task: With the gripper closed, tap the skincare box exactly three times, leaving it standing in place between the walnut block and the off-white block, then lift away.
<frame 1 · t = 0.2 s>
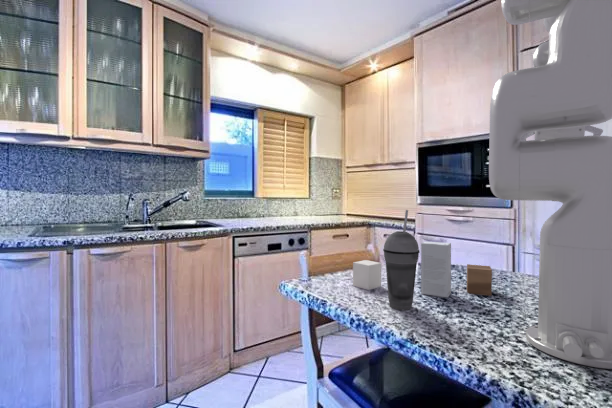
hand: (557, 165, 85), 31 cm above the countertop, fingers open, 9 cm apart
walnut block: (478, 291, 79), on the countertop
beverage cup: (400, 307, 68), on the countertop
skincare box: (435, 294, 77), on the countertop
off-white block: (366, 286, 83), on the countertop
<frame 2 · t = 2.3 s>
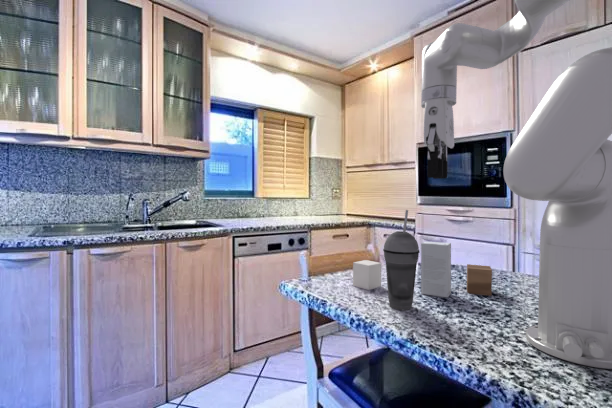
hand: (437, 177, 76), 27 cm above the countertop, fingers open, 4 cm apart
nothing on the countertop moved.
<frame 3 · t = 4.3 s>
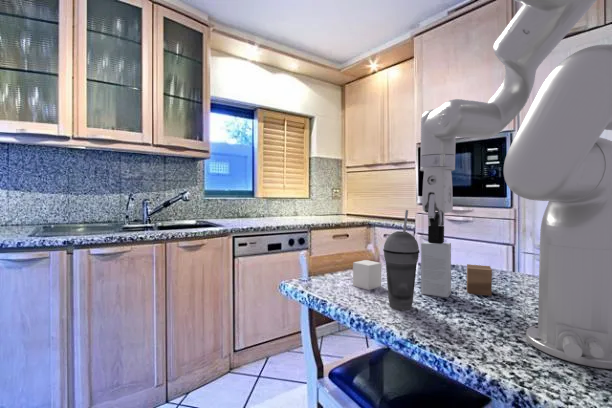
hand: (435, 242, 77), 12 cm above the countertop, fingers closed
skincare box: (435, 294, 77), on the countertop, touching gripper
everything else where it was.
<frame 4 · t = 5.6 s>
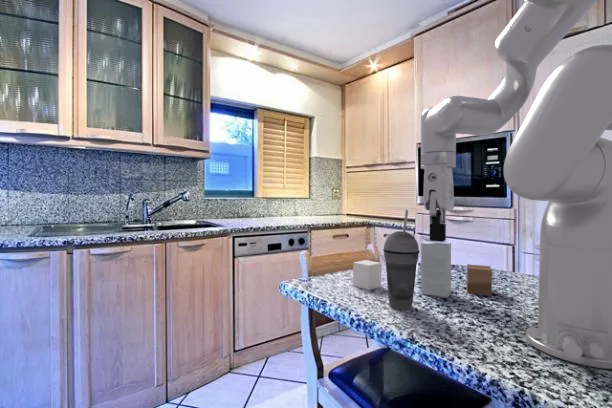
hand: (437, 240, 76), 13 cm above the countertop, fingers closed
skincare box: (435, 294, 77), on the countertop
everything else where it was.
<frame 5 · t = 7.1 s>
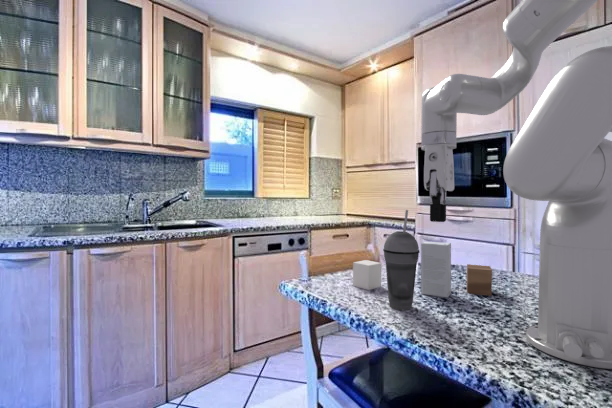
hand: (437, 221, 76), 17 cm above the countertop, fingers closed
nothing on the countertop moved.
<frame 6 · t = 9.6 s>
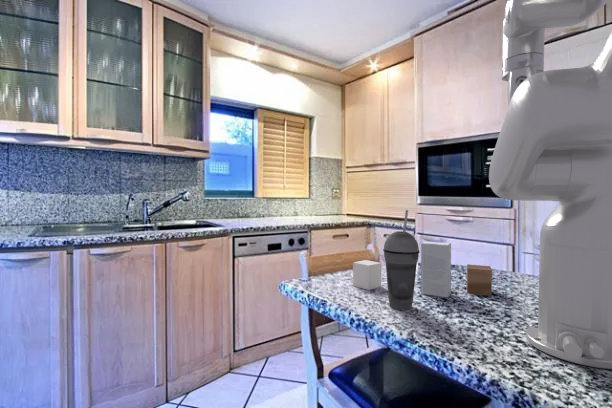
hand: (520, 154, 71), 32 cm above the countertop, fingers closed
nothing on the countertop moved.
at the end: skincare box moved 0.2 cm from its start; skincare box tilted 0°; walnut block moved 0.1 cm from its start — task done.
